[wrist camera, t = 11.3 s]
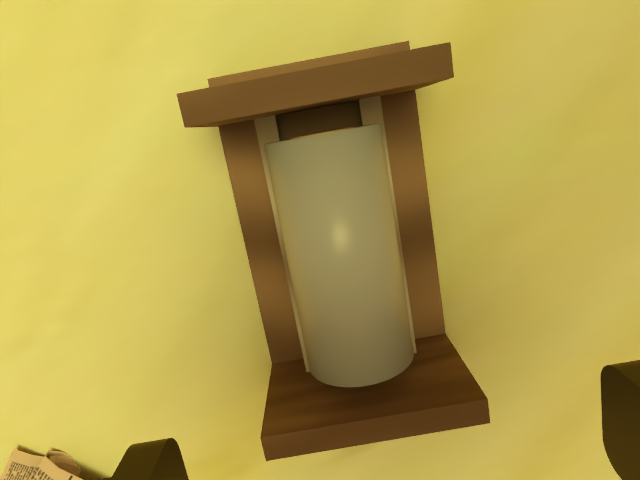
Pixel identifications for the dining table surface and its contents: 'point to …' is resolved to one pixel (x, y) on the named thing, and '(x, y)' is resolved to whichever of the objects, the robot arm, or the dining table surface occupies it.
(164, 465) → the robot arm
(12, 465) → the newspaper
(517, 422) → the dining table surface
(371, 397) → the holder
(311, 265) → the cylinder
